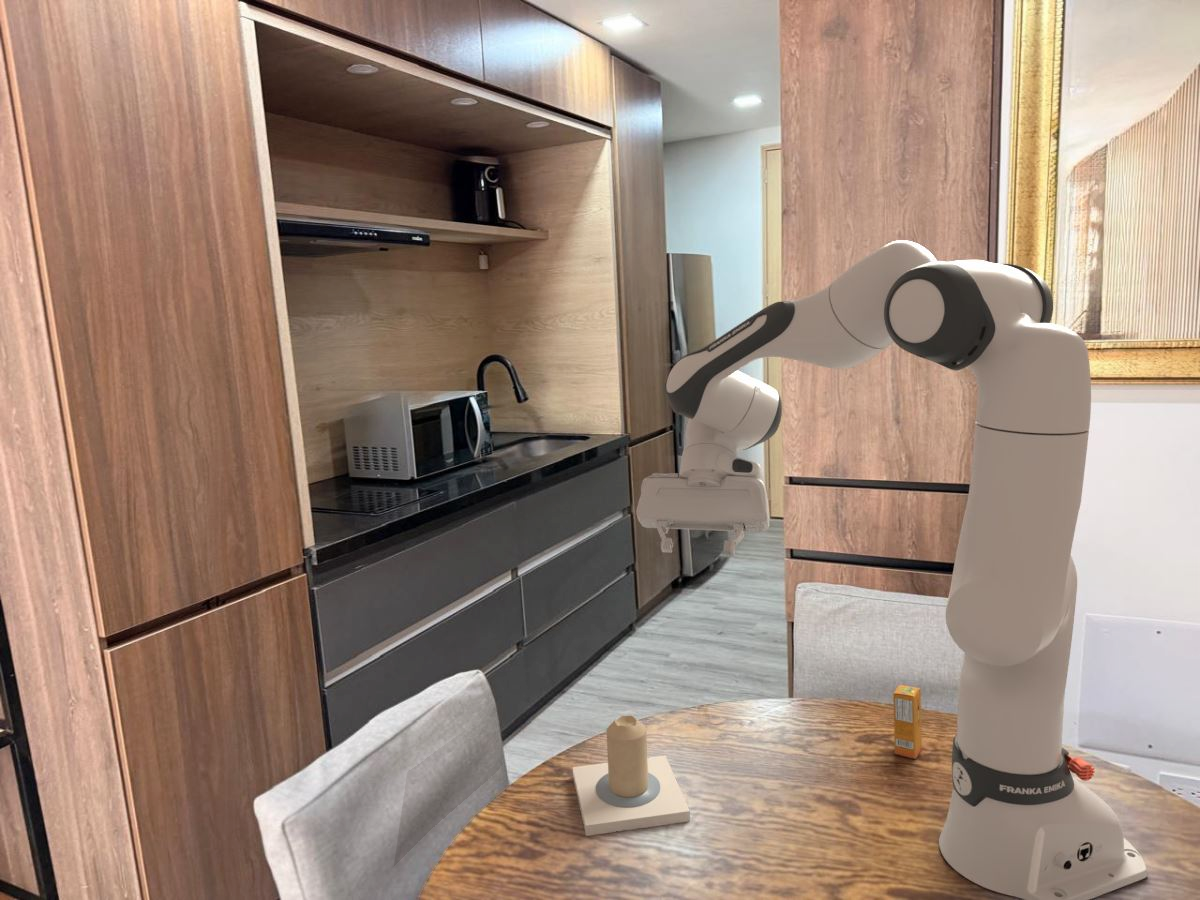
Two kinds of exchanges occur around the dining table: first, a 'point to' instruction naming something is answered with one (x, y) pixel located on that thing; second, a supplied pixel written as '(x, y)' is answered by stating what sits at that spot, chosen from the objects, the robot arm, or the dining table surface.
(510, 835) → the dining table surface
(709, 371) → the robot arm
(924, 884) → the dining table surface
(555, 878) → the dining table surface
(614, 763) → the candle
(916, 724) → the supplement box
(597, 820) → the base board
